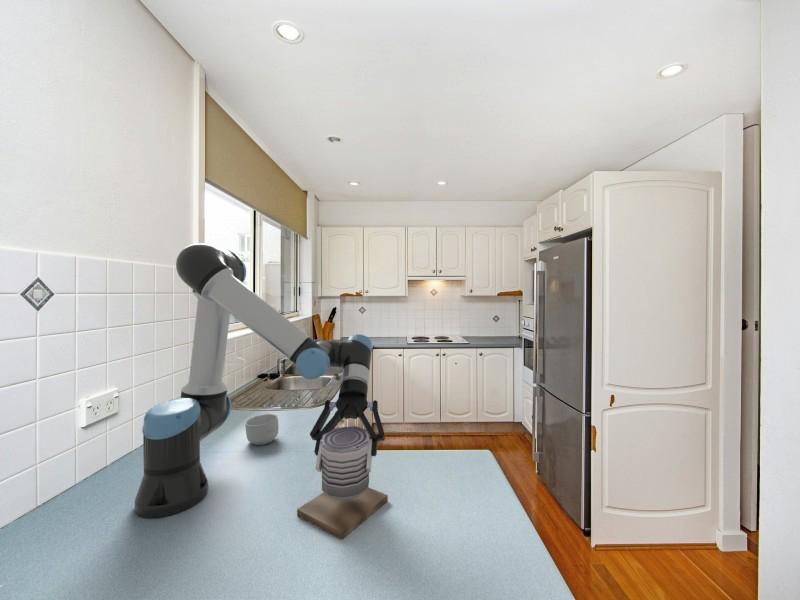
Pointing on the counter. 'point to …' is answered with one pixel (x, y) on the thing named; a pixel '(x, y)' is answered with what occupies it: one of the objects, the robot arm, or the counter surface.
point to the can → (345, 462)
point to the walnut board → (341, 511)
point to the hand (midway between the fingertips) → (343, 470)
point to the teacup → (262, 429)
